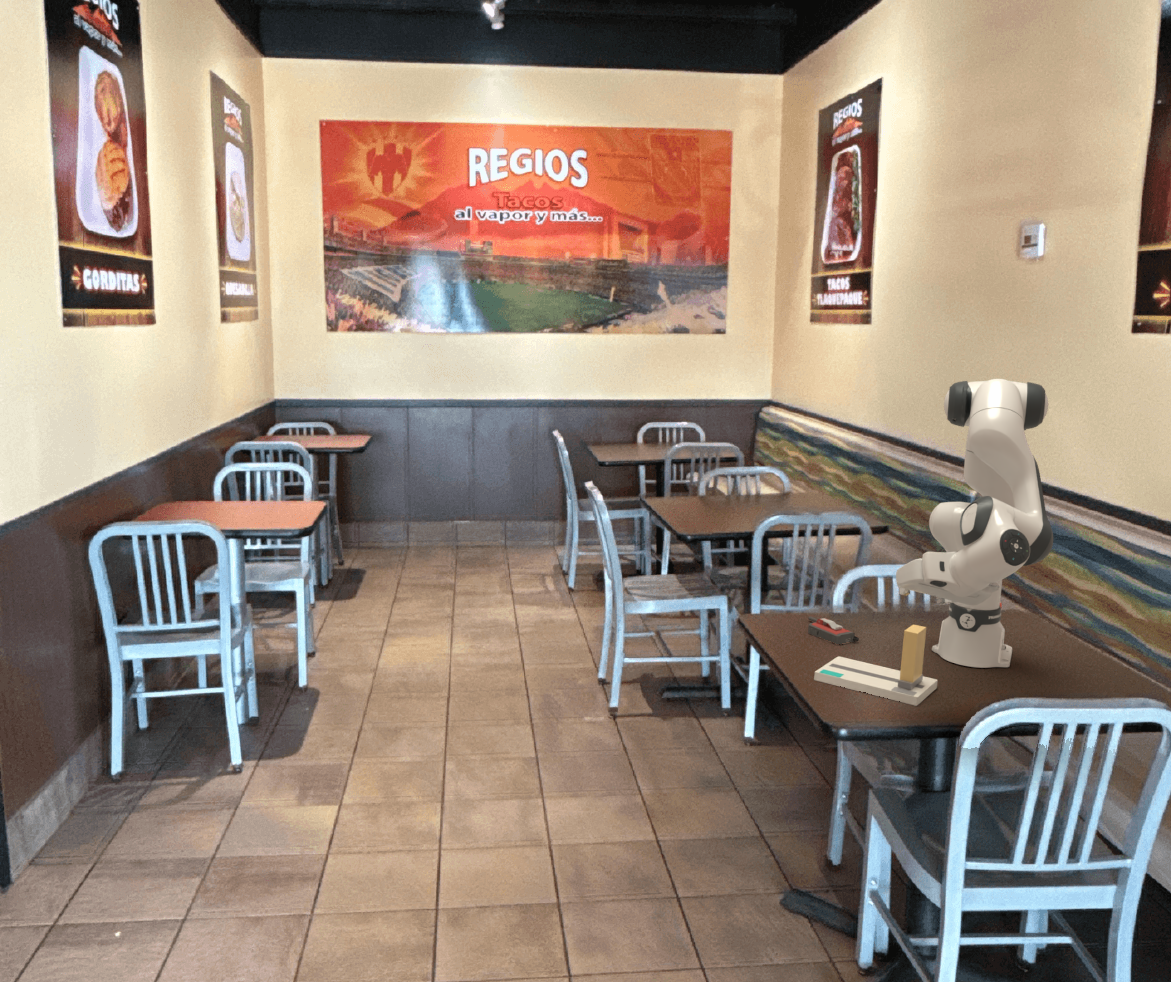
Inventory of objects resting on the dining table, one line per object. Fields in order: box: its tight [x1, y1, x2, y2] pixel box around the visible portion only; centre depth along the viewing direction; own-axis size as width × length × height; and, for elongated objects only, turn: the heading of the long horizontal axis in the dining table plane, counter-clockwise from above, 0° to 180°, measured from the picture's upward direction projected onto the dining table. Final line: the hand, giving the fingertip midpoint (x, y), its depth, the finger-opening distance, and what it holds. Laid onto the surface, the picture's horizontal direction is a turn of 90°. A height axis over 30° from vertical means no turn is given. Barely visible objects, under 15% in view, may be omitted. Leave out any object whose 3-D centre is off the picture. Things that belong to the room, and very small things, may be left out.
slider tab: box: [898, 624, 927, 690], centre depth 234 cm, size 8×3×13 cm, turn 144°
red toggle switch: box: [807, 616, 860, 644], centre depth 276 cm, size 9×4×20 cm
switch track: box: [813, 655, 938, 707], centre depth 240 cm, size 14×24×2 cm, turn 54°
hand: (920, 596), depth 225 cm, fingers open, 8 cm apart
